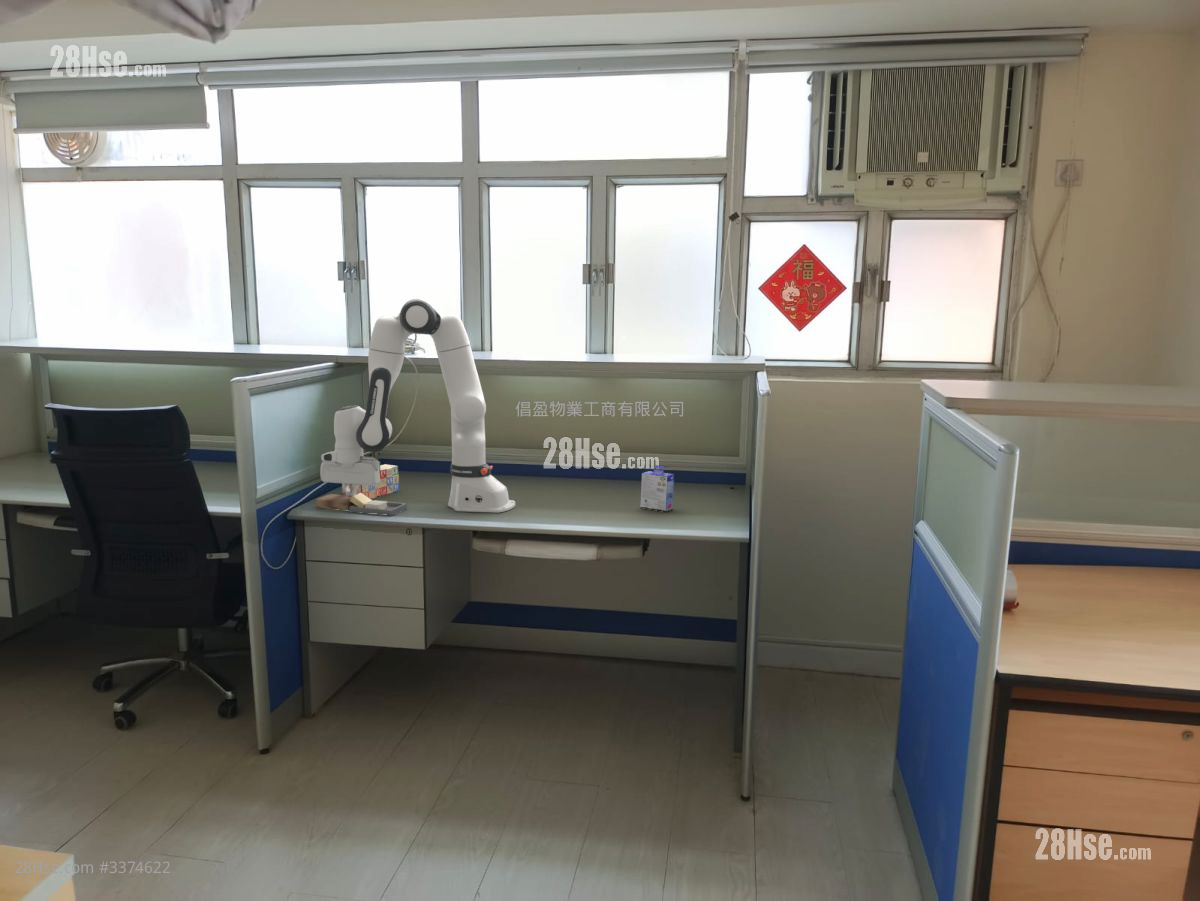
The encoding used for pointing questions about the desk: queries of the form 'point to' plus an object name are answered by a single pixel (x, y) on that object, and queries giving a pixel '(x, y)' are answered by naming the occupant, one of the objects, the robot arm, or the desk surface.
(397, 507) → the tray
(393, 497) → the desk surface
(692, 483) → the desk surface
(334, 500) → the walnut ledge
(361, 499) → the ochre tile
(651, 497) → the ink cartridge box
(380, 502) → the cream tile
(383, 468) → the stack of blocks
